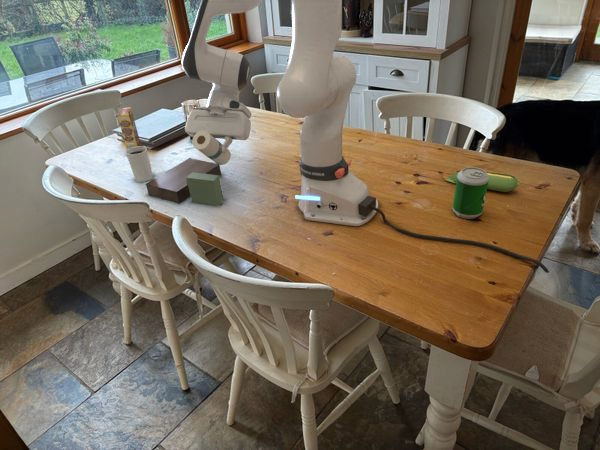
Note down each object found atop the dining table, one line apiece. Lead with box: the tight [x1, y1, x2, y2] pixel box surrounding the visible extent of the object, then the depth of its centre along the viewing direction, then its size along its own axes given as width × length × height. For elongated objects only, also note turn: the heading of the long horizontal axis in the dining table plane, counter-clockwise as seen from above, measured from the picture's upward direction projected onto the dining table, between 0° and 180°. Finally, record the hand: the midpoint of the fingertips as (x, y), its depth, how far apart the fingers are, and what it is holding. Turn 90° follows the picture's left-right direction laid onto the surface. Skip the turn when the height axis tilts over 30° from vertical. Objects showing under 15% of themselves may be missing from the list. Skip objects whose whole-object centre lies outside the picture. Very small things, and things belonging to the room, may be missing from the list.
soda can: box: [451, 166, 489, 220], centre depth 111 cm, size 8×8×12 cm
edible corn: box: [444, 170, 520, 193], centre depth 125 cm, size 5×20×5 cm, turn 62°
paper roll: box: [191, 131, 232, 166], centre depth 127 cm, size 13×6×13 cm, turn 160°
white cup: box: [125, 146, 154, 183], centre depth 143 cm, size 7×7×10 cm
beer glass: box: [181, 99, 201, 143], centre depth 167 cm, size 7×7×15 cm
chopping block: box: [145, 157, 222, 204], centre depth 138 cm, size 13×20×4 cm, turn 150°
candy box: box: [117, 106, 142, 150], centre depth 162 cm, size 9×4×15 cm, turn 13°
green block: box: [186, 172, 225, 207], centre depth 127 cm, size 4×9×8 cm, turn 70°
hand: (211, 151), depth 127 cm, fingers closed on paper roll, 6 cm apart
